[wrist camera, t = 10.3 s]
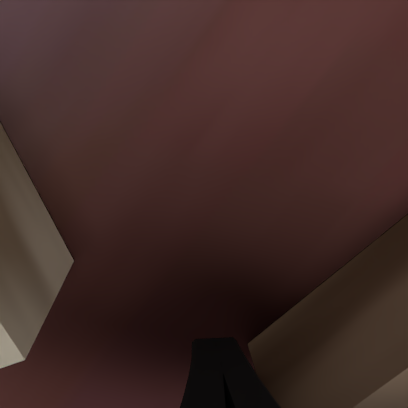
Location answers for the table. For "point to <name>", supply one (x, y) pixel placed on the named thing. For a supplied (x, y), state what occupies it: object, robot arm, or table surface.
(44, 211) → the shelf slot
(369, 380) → the block
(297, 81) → the table surface
